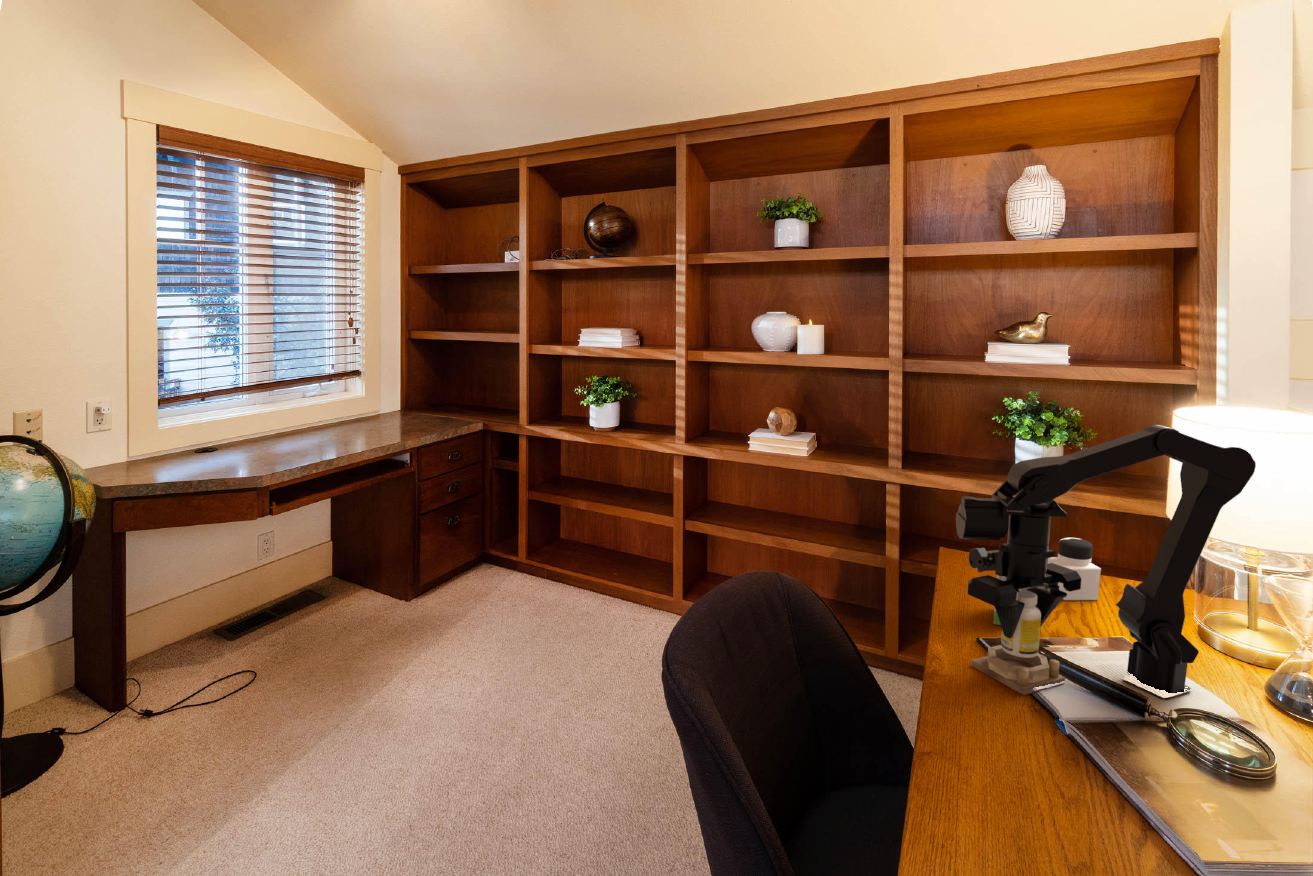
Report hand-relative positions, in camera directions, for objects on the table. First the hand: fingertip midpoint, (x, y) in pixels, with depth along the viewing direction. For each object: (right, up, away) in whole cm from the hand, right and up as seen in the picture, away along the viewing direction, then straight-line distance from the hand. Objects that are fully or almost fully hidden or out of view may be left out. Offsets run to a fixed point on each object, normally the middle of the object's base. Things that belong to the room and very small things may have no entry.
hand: (1020, 634), depth 106 cm
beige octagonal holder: (0, -7, +1) cm, 7 cm away
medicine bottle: (+30, -2, +34) cm, 45 cm away
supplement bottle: (0, -3, 0) cm, 3 cm away
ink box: (+10, -4, +22) cm, 24 cm away
